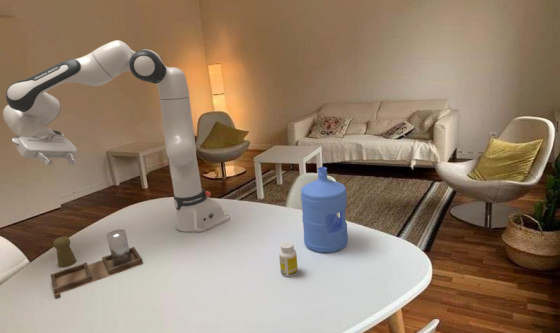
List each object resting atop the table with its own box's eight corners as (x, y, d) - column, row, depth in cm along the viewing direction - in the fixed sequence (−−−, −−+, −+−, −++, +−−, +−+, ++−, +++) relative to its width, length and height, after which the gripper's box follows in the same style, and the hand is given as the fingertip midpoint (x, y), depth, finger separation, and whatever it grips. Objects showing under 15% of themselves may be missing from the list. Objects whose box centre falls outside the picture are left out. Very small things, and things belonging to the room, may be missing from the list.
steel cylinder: (129, 255, 139) (123, 227, 136) (133, 262, 134) (127, 233, 131) (111, 261, 136) (105, 233, 133) (115, 268, 131) (108, 239, 128)
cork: (69, 271, 134) (61, 242, 131) (54, 270, 136) (46, 242, 132) (81, 261, 140) (74, 234, 137) (66, 261, 141) (59, 234, 138)
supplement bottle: (299, 268, 124) (297, 241, 122) (295, 278, 120) (292, 250, 117) (283, 266, 126) (281, 239, 123) (278, 276, 121) (275, 248, 118)
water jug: (298, 250, 135) (292, 174, 127) (311, 230, 149) (307, 160, 141) (342, 256, 129) (339, 177, 121) (352, 234, 143) (350, 162, 135)
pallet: (134, 252, 144) (133, 245, 143) (144, 266, 133) (142, 260, 132) (52, 280, 130) (50, 273, 129) (55, 298, 119) (53, 291, 119)
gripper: (13, 128, 125) (38, 156, 122) (66, 132, 144) (89, 156, 141) (4, 144, 126) (29, 171, 123) (58, 146, 146) (80, 169, 142)
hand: (61, 163), depth 132 cm, fingers open, 8 cm apart
